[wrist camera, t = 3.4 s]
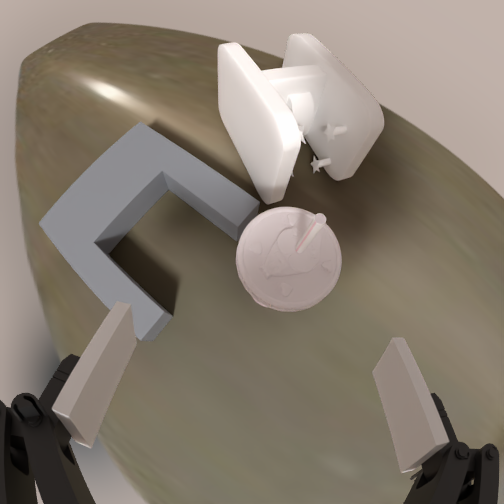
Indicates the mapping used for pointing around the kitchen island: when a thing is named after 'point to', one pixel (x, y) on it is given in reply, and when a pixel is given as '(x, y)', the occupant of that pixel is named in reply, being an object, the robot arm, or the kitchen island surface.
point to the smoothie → (288, 259)
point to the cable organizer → (295, 113)
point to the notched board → (137, 214)
